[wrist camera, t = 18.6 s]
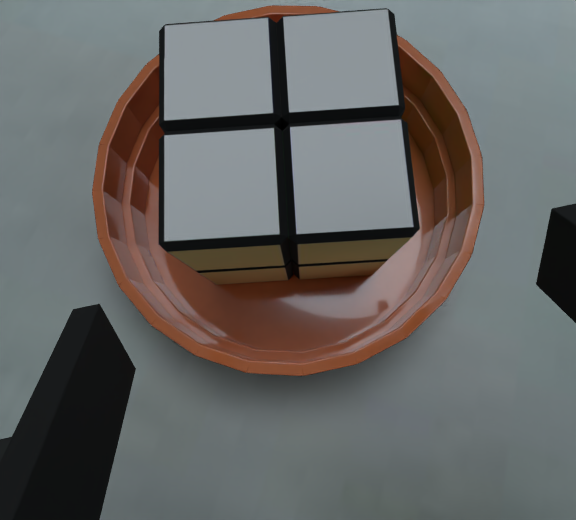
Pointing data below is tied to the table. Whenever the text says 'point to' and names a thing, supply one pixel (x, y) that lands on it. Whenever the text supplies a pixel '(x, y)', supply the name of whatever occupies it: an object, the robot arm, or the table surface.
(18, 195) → the table surface
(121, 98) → the bowl
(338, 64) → the puzzle cube
